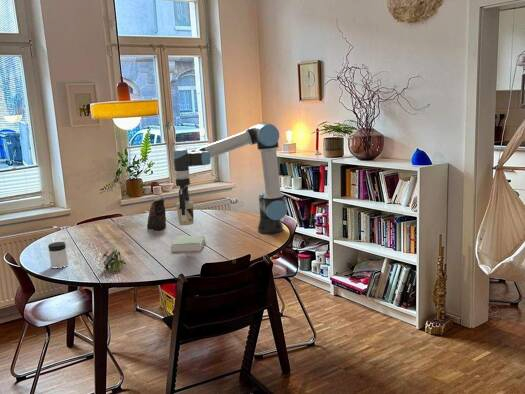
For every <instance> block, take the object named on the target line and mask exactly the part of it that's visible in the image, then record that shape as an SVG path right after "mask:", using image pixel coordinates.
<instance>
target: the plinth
mask: <svg viewBox="0 0 525 394" xmlns="http://www.w3.org/2000/svg"><path fill="white" fill-rule="evenodd" d="M205 243H206V238H205V235H179V236H176V238H174V240H173V242H171V244H170V251H171V252H173V253H175V252H194V251H195V252H196V251H198V252H199V251H202V248H203V246H204V245H205Z"/></svg>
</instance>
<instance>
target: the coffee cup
mask: <svg viewBox="0 0 525 394" xmlns="http://www.w3.org/2000/svg"><path fill="white" fill-rule="evenodd" d="M175 206H176V211H177V217H178V225H180V226H190V225H193V224H194V202H193V200H190V201H185V209H186V215H187V221H182V218H181V209H179V208H180V202H179V201H178V202H176V204H175ZM182 207H183V206H182Z"/></svg>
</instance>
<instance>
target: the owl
mask: <svg viewBox="0 0 525 394" xmlns="http://www.w3.org/2000/svg"><path fill="white" fill-rule="evenodd" d="M166 222H167V217H166V207H165V200H164V198H163V197H162V195H160V196H159V197H157V198H155V199H154V200H153V201H152V203H151V205H150V209H149V213H148V216H147V225H146V228H147V230H151V231H155V232H161V231H163V230H165V229H166V228H167V223H166Z"/></svg>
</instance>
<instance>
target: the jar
mask: <svg viewBox="0 0 525 394" xmlns="http://www.w3.org/2000/svg"><path fill="white" fill-rule="evenodd" d="M48 253H49V260H50V261H49V262H50V268H51V267H58V268H60V267H64V266H67V265H68V266H69V259H68V254H67V253H68V252H67V245H66V242H65V241H56V242H51V243H49V244H48Z"/></svg>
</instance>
